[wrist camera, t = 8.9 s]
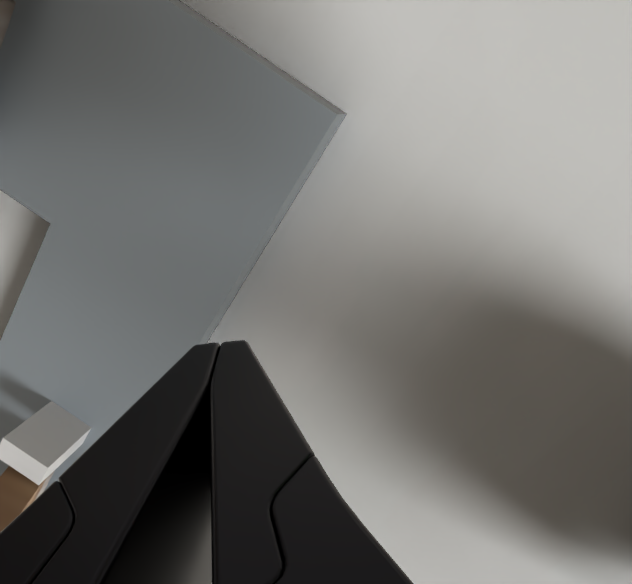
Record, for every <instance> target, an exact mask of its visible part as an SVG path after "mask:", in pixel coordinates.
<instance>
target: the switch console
mask: <svg viewBox="0 0 632 584" xmlns="http://www.w3.org/2000/svg"><path fill="white" fill-rule="evenodd" d="M14 1H15V2H16V4H15V7H14V10H13V13H12V16H11V19H10V22H9V25H8V28H7V31H6V34H5V37H4V39H3V42H2V45H1V48H0V190H1V191H3V192H4V193H6V194H7V195H9V196H10V197H12V198H13V199H14V200H16V201H17V202H19V203H20V204H22V205H23V206H25V207H26V208H28V209H29V210H31V211H32V212H34V213H35V214H37V215H38V216H40V217H41V218H43V219H44V220H46V221H47V222H49V223H50V226H49V228H48V230H47V233H46V235H45V237H44V240H43V242H42V244H41V247H40V249H39V251H38V254H37V256H36V258H35V261H34V263H33V265H32V268H31V270H30V272H29V275H28V277H27V279H26V282H25V284H24V286H23V289H22V291H21V293H20V296H19V298H18V300H17V303H16V305H15V308H14V310H13V312H12V315H11V317H10V319H9V322H8V324H7V326H6V329H5V331H4V333H3V336H2V338H1V340H0V476H1V475H2V474H3V473H4V471H5V470H6V469H7V468H8V466H11V467H12V468H14V469H15V470H17V471H18V472H20V473H21V474H23V475H24V476H26V477H27V478H29V479H30V480H31V481H33V482H34V483H36V484H37V485H40V484H41V483H42V482H43V481H44V480H45V479H46V478H47V477H48V476H49V475H50V474H51V473H52V472H53V471H54V470H55V471H54V473H53V475H52V477H51V479H50V480H49V482H48V484H47V486H46V488H45V490H46V489H47V488H48V487H49V486H50V485H51V484H52V483H53V482H55V481H58V482H59V480H58V478H59V477H60V476H61V475H62V474H63V473H64V472H65V471H66V470H67V469H68V468H69V467H70V466H71V465H72V464H73V463H74V462H75V461H76V460H77V459H78V458H79V457H80V456H81V455H82V454H83V453H84V452H85V451H86V450H87V449H88V448H89V447H90V446H91V445H92V444H93V443H94V442H95V441H96V440H97V439H99V438H100V437H101V436H102V435H103V434H104V433H105V432H106V431H107V430H108V429H109V428H110V427H111V426H112V425H113V424H114V423H115V422H116V421H117V420H118V419H119V418H120V417H121V416H122V415H123V414H124V413H125V412H126V411H127V410H128V409H129V408H130V407H131V406H132V405H133V404H134V403H135V402H136V401H137V400H138V399H140V398H141V397H142V396H143V395H144V394H145V393H146V392H147V391H148V390H149V389H150V388H151V387H152V386H153V385H154V384H155V383H156V382H157V381H158V380H159V379H160V378H161V377H162V376H163V375H164V374H165V373H166V372H167V371H168V370H169V369H170V368H171V367H172V366H173V365H174V364H175V363H176V362H177V361H178V360H180V359H181V358H182V357H183V356H184V355H185V354H186V353H187V352H188V351H189V350H190V349H191V348H192V347H193V346H194V345H197V344H206V343H207V341H208V340H209V338H210V337H211V335H212V333H213V332H214V330H215V328H216V327H217V325H218V323H219V322H220V320H221V319H222V317H223V315H224V314H225V312H226V310H227V309H228V307H229V305H230V304H231V302H232V301H233V299H234V297H235V296H236V294H237V292H238V291H239V289H240V288H241V286H242V284H243V283H244V281H245V279H246V278H247V276H248V274H249V273H250V271H251V270H252V268H253V266H254V265H255V263H256V261H257V260H258V258H259V256H260V255H261V253H262V252H263V250H264V248H265V247H266V245H267V243H268V242H269V240H270V239H271V237H272V235H273V234H274V232H275V230H276V229H277V227H278V225H279V224H280V222H281V221H282V219H283V217H284V216H285V214H286V212H287V211H288V209H289V207H290V206H291V204H292V203H293V201H294V199H295V198H296V196H297V194H298V193H299V191H300V189H301V188H302V186H303V185H304V183H305V181H306V180H307V178H308V176H309V175H310V173H311V172H312V170H313V168H314V167H315V165H316V163H317V162H318V160H319V158H320V157H321V155H322V154H323V152H324V150H325V149H326V147H327V145H328V144H329V142H330V140H331V139H332V137H333V136H334V134H335V132H336V131H337V129H338V127H339V126H340V124H341V123H342V121H343V119H344V118H345V116H346V113H345V112H343V111H342V110H340V109H339V108H337V107H336V106H334V105H333V104H331V103H330V102H328V101H327V100H325V99H324V98H322V97H321V96H320V95H318V94H317V93H315V92H314V91H312V90H311V89H309V88H308V87H306V86H305V85H303V84H302V83H300V82H299V81H297V80H296V79H294V78H293V77H292V76H290V75H289V74H287V73H286V72H284V71H283V70H281V69H280V68H278V67H277V66H275V65H274V64H272V63H271V62H269V61H268V60H266V59H265V58H263V57H262V56H261V55H259V54H258V53H256V52H255V51H253V50H252V49H250V48H249V47H247V46H246V45H244V44H243V43H241V42H240V41H238V40H237V39H235V38H234V37H233V36H231V35H230V34H228V33H227V32H225V31H224V30H222V29H221V28H219V27H218V26H216V25H215V24H213V23H212V22H210V21H209V20H207V19H206V18H205V17H203V16H202V15H200V14H199V13H197V12H196V11H194V10H193V9H191V8H190V7H188V6H187V5H185V4H184V3H182V2H181V1H179V0H14ZM45 490H44V491H45Z"/></svg>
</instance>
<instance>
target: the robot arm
mask: <svg viewBox="0 0 632 584" xmlns="http://www.w3.org/2000/svg"><path fill="white" fill-rule="evenodd" d="M58 480H59V482H58V481H55V482H53V483H52V484H51V485H50V486H49V487H48V488H47V489H46V490H45V491H44V492H43V493H42V494H41V495H40V496H39V497H38V498H37V499H36V500H35V501H34V502H32V503H31V504H30V505H29V506H28V507H27V508H26V509H25V510H24V511H23V512H22V513H21V514H20V515H19V516H17V517H16V518H15V519H14V520H13V521H12V522H11V523H10V524H9V525H8V526H7V527H6V528H5V529H4V530H2V531H1V532H0V584H413V583H412V581H411V580H410V579H409V578H408V577H407V576H406V574H405V573H404V572H403V571H402V570H401V568H400V567H399V566H398V565H397V564H396V563H395V561H394V560H393V559H392V558H391V557H390V555H389V554H388V553H387V552H386V551H385V550H384V548H383V547H382V546H381V545H380V544H379V542H378V541H377V540H376V539H375V538H374V537H373V535H372V534H371V533H370V532H369V531H368V529H367V528H366V527H365V526H364V525H363V524H362V522H361V521H360V520H359V518H358V517H357V516H356V515H355V513H354V512H353V511H352V509H351V508H350V507H349V506H348V504H347V503H346V502H345V501H344V499H343V498H342V497H341V495H340V493H339V492H338V490H337V489H336V487H335V486H334V484H333V483H332V481H331V480H330V478H329V477H328V475H327V474H326V472H325V471H324V469H323V467H322V466H321V464H320V462H319V461H318V459H317V458H316V457H315V455H314V453H313V451H312V449H311V448H310V446H309V444H308V443H307V441H306V439H305V438H304V436H303V434H302V433H301V431H300V429H299V428H298V426H297V424H296V423H295V421H294V419H293V418H292V416H291V414H290V413H289V411H288V409H287V408H286V406H285V404H284V403H283V401H282V399H281V398H280V396H279V394H278V393H277V391H276V389H275V388H274V386H273V384H272V383H271V381H270V379H269V378H268V376H267V374H266V373H265V371H264V369H263V368H262V366H261V364H260V362H259V361H258V359H257V357H256V356H255V354H254V352H253V351H252V349H251V347H250V346H249V344H248V343H247V342H246V341H244V340H241V341H230V342H224V343H222V344H221V346H220V345H219V344H218V343H209V344H197V345H194V346H193V347H192V348H191V349H190V350H189V351H188V352H187V353H186V354H185V355H184V356H183V357H182V358H181V359H180V360H178V361H177V362H176V363H175V364H174V365H173V366H172V367H171V368H170V369H169V370H168V371H167V372H166V373H165V374H164V375H163V376H162V377H161V378H160V379H159V380H158V381H157V382H156V383H155V384H154V385H153V386H152V387H151V388H150V389H149V390H148V391H147V392H146V393H145V394H144V395H143V396H142V397H141V398H140V399H138V400H137V401H136V402H135V403H134V404H133V405H132V406H131V407H130V408H129V409H128V410H127V411H126V412H125V413H124V414H123V415H122V416H121V417H120V418H119V419H118V420H117V421H116V422H115V423H114V424H113V425H112V426H111V427H110V428H109V429H108V430H107V431H106V432H105V433H104V434H103V435H102V436H101V437H100V438H99V439H97V440H96V441H95V442H94V443H93V444H92V445H91V446H90V447H89V448H88V449H87V450H86V451H85V452H84V453H83V454H82V455H81V456H80V457H79V458H78V459H77V460H76V461H75V462H74V463H73V464H72V465H71V466H70V467H69V468H68V469H67V470H66V471H65V472H64V473H63V474H62V475H61V476H60V477H59V478H58Z"/></svg>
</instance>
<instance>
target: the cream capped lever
mask: <svg viewBox="0 0 632 584" xmlns="http://www.w3.org/2000/svg"><path fill="white" fill-rule="evenodd" d="M54 471H55V470H54ZM54 471H53V472H52V473H51V474H50V475H49V476H48V477H47V478H46V479H45V480H44V481H43V482H42V483H41V484H40V485H37V484H36V483H34V482H33V481H31V480H30V479H29V478H27V477H26V476H24V475H23V474H21V473H20V472H18V471H17V470H15V469H14V468H12V467H11V466H8V468H7V469H6V470H5V471H4V473H3V474H2V475H1V476H0V532H1V531H2V530H4V529H5V528H6V527H7V526H8V525H9V524H10V523H11V522H12V521H13V520H14V519H15V518H16V517H17V516H19V515H20V514H21V513H22V512H23V511H24V510H25V509H26V508H27V507H28V506H29V505H30V504H31V503H32V502H34V501H35V500H36V499H37V498H38V497H39V496H40V495H41V494H42V493H43V492H44V490H45V488H46V486H47V484H48V482H49V480H50V479H51V477H52V475H53V473H54Z"/></svg>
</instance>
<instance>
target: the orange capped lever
mask: <svg viewBox="0 0 632 584" xmlns="http://www.w3.org/2000/svg"><path fill="white" fill-rule="evenodd" d="M15 4H16V2H15V1H14V0H0V48H1V45H2V42H3V39H4V37H5V34H6V31H7V28H8V25H9V22H10V19H11V16H12V13H13V10H14V7H15Z"/></svg>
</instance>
